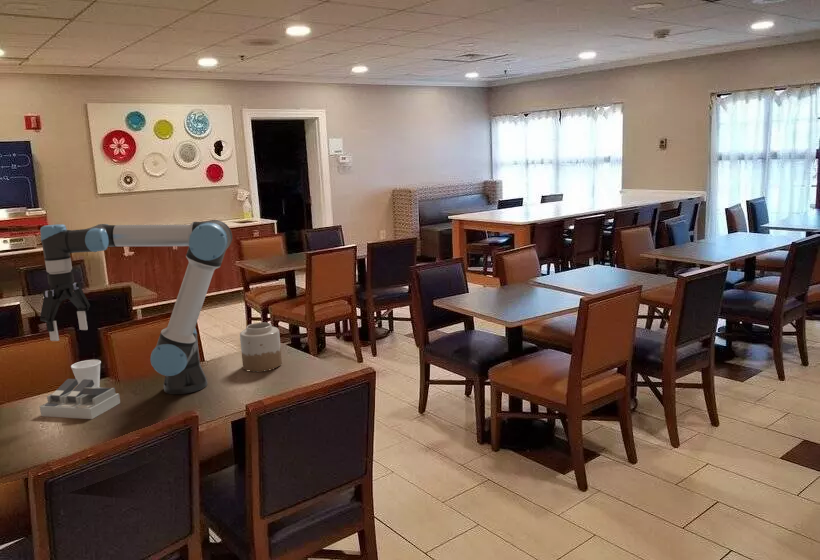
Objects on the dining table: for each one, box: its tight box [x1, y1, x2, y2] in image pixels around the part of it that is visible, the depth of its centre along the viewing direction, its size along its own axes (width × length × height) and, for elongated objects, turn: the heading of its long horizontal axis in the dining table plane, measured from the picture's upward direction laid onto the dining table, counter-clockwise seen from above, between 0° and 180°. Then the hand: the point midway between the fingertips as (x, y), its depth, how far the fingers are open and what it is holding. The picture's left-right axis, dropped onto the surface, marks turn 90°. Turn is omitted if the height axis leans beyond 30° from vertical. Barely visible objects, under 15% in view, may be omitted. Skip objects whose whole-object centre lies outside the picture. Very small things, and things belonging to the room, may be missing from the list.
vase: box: [239, 322, 283, 372], centre depth 256 cm, size 15×15×17 cm
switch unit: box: [39, 386, 121, 420], centre depth 219 cm, size 20×14×6 cm
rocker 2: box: [67, 379, 94, 402], centre depth 220 cm, size 4×9×2 cm, turn 166°
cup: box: [70, 359, 102, 388], centre depth 235 cm, size 10×10×11 cm
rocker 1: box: [50, 378, 79, 401], centre depth 221 cm, size 4×9×2 cm, turn 166°
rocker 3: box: [83, 387, 112, 395], centre depth 218 cm, size 4×9×2 cm, turn 166°
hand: (69, 335), depth 215 cm, fingers open, 12 cm apart
